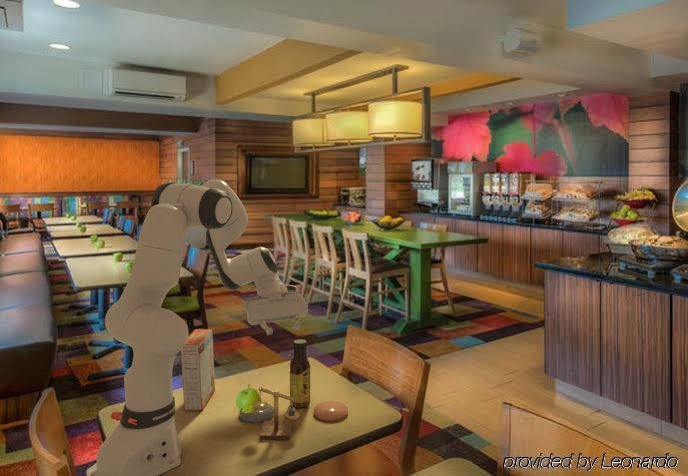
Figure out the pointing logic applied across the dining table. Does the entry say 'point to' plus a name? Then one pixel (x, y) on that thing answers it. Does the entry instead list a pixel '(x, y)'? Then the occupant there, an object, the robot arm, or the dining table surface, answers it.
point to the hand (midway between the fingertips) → (284, 331)
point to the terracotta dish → (330, 411)
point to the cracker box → (198, 369)
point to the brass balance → (276, 418)
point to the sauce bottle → (300, 375)
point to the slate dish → (258, 415)
